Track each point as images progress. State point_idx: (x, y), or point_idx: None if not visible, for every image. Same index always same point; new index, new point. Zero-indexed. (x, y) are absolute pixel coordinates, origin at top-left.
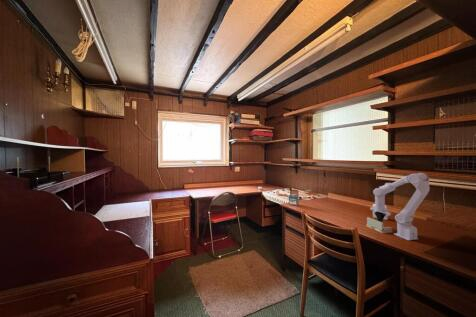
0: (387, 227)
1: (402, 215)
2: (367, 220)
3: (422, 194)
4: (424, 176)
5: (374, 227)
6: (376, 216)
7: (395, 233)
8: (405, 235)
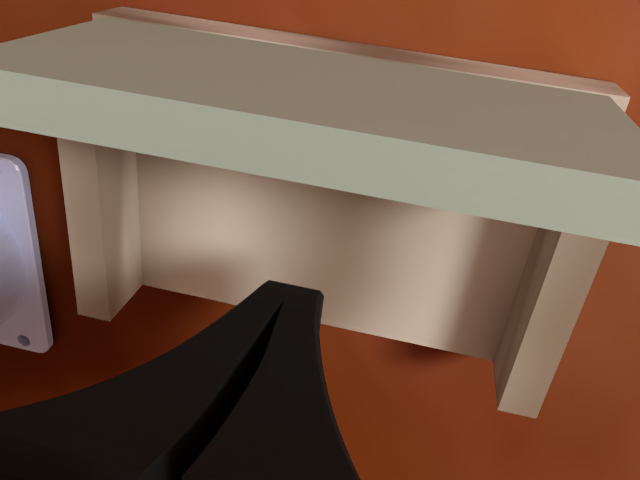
0: (74, 208)
1: None
2: (625, 137)
3: None
4: None
5: None
6: (321, 401)
7: (23, 205)
8: None
